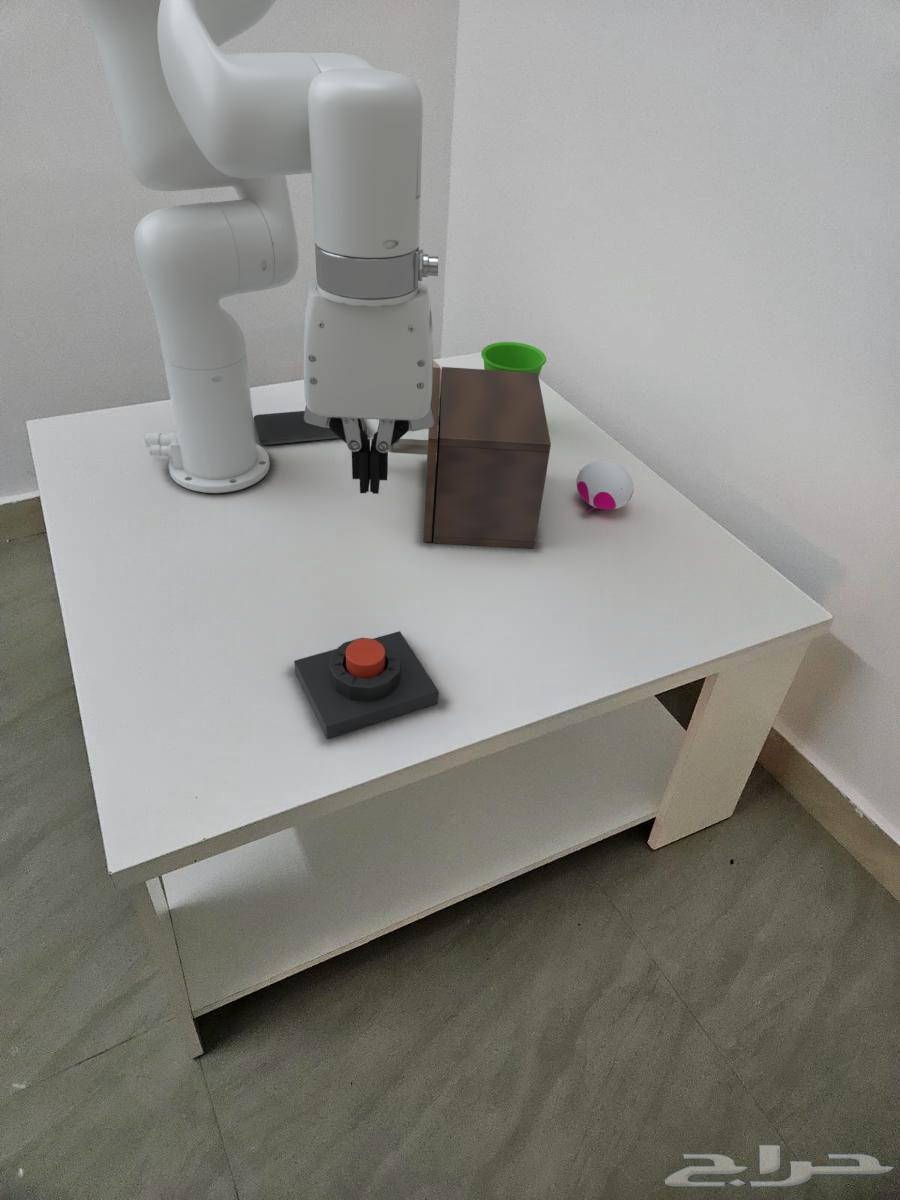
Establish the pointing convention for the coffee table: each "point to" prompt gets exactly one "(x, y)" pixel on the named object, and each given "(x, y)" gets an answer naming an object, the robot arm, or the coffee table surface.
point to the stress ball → (605, 485)
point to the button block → (364, 687)
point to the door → (430, 450)
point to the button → (365, 658)
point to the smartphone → (289, 428)
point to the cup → (513, 357)
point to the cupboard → (490, 458)
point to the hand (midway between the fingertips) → (370, 485)
